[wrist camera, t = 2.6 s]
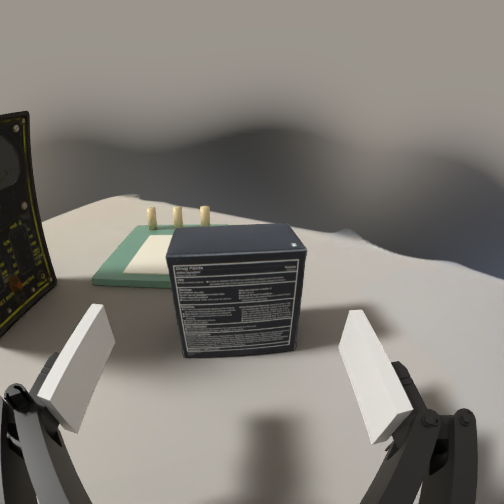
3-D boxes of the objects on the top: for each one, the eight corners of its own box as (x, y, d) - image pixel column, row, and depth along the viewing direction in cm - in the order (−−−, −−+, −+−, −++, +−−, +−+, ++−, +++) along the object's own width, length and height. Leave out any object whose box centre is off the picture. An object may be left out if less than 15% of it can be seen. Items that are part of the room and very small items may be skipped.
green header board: (228, 229, 52) (228, 203, 49) (221, 288, 34) (219, 252, 32) (138, 230, 51) (134, 206, 49) (93, 284, 33) (84, 251, 31)
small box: (281, 310, 30) (289, 220, 26) (296, 351, 24) (312, 250, 20) (185, 315, 29) (174, 223, 24) (182, 359, 23) (163, 256, 18)
